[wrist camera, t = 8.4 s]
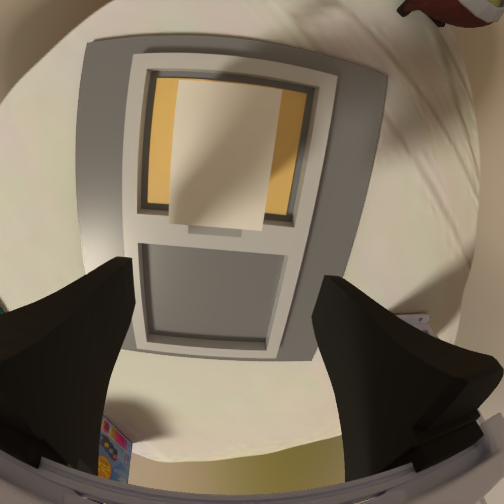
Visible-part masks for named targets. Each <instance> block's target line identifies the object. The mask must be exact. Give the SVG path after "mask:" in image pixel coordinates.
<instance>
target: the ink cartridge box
mask: <svg viewBox="0 0 504 504" xmlns="http://www.w3.org/2000/svg"><path fill="white" fill-rule="evenodd" d="M131 452H132V443H131V442H130V441H129V440H128V439H127V438H126V437H125V436H124V435H123V434H122V433H121V432H120V431H119V430H118V429H117V428H116V427H115V426H114V425H113V424H112V423H111V422H110V421H109V420H108V419H107V418H106V417H105V416H104V415H103V417H102V423H101V432H100V443H99V461H98V477H102V478H106V479H110V480H113V481H118V482H122V483H126V484H128V477H129V468H130V460H131ZM87 499H89V498H87ZM89 500H91V501H94V502H97V503H100V504H103V503H102V502H98V501H95V500H92V499H89Z"/></svg>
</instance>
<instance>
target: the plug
mask: <svg viewBox="0 0 504 504" xmlns="http://www.w3.org/2000/svg"><path fill="white" fill-rule="evenodd" d="M281 97H282V90H281V89H275V88H268V87H261V86H254V85H246V84H236V83H226V82H213V81H194V80H179V82H178V90H177V98H176V107H175V117H174V128H173V139H172V153H171V168H170V189H169V224H179V225H188V234H202V235H215V236H228V237H241V235H242V229H244V230H256V231H262V227H263V220H264V213H265V207H266V200H267V193H268V186H269V180H270V173H271V166H272V159H273V152H274V145H275V139H276V132H277V125H278V118H279V111H280V104H281Z"/></svg>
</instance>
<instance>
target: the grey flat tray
mask: <svg viewBox="0 0 504 504" xmlns="http://www.w3.org/2000/svg"><path fill="white" fill-rule="evenodd" d="M387 79H388V76H387V75H384V74H382V73H379V72H377V71H374V70H371V69H369V68H366V67H363V66H360V65H357V64H354V63H351V62H348V61H345V60H341V59H338V58H335V57H331V56H328V55H324V54H320V53H316V52H312V51H308V50H304V49H299V48H295V47H290V46H285V45H280V44H274V43H268V42H262V41H255V40H248V39H239V38H230V37H218V36H200V35H155V36H138V37H127V38H117V39H109V40H102V41H96V42H90V43H87V45H86V50H85V56H84V61H83V67H82V74H81V81H80V89H79V99H78V110H77V124H76V195H77V210H78V222H79V232H80V240H81V248H82V255H83V262H84V268H85V274H87V273H89V272H91V271H92V270H94V269H96V268H97V267H99V266H100V265H102V264H104V263H105V262H107V261H109V260H110V259H112V258H114V257H116V256H121V257H130V258H132V263H133V277H134V289H135V299H136V305H135V309H134V313H133V316H132V320H131V324H130V327H129V329H128V332H127V334H126V337H125V339H124V342H123V345H122V347H121V349H124V350H131V351H138V352H145V353H153V354H161V355H170V356H180V357H191V358H203V359H218V360H239V361H312V359H313V356H314V354H315V351H316V349H317V346H318V344H317V341H316V338H315V334H314V329H313V324H312V319H311V316H312V313H313V310H314V307H315V303H316V300H317V297H318V294H319V291H320V288H321V284H322V281H323V278H324V275H332V276H340V277H341V278H342V277H343V274H344V271H345V268H346V264H347V261H348V258H349V255H350V251H351V248H352V245H353V241H354V238H355V234H356V231H357V227H358V224H359V220H360V216H361V212H362V208H363V205H364V201H365V197H366V193H367V188H368V184H369V180H370V176H371V171H372V166H373V162H374V157H375V152H376V147H377V142H378V137H379V131H380V126H381V120H382V114H383V108H384V101H385V94H386V87H387ZM179 80H194V81H213V82H226V83H236V84H246V85H254V86H261V87H268V88H275V89H281V90H282V97H281V104H280V111H279V118H278V125H277V132H276V139H275V145H274V152H273V159H272V166H271V173H270V180H269V186H268V193H267V200H266V207H265V213H264V220H263V227H262V231H256V230H244V229H242V235H241V237H228V236H215V235H202V234H188V225H179V224H169V189H170V168H171V153H172V139H173V128H174V117H175V107H176V98H177V90H178V82H179Z"/></svg>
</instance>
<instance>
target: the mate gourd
mask: <svg viewBox="0 0 504 504" xmlns="http://www.w3.org/2000/svg"><path fill="white" fill-rule="evenodd" d="M419 9H420V10H421V11H423V12H424V13H426V14H427V15H428V16H429V17H430V18H431V19H432V21H433V22H434V23H435V24H436V25H437V26H438V27H444V26H445V23H447V24H450V25H454V26H459V27H464V28H475V27H482V26H486V25H490V24H491V23H493V22H497V21H498V20H499V19H500V17H501V16H502V14H503V12H504V0H405V1H404V2H403V3H402V4H401V5H400V6H399V7H398V9H397V12H398V13H399V14H400V15H401V16H402V17H405V16H407V15H408V14H409V13H410V12H411V11H413V10H419Z"/></svg>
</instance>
